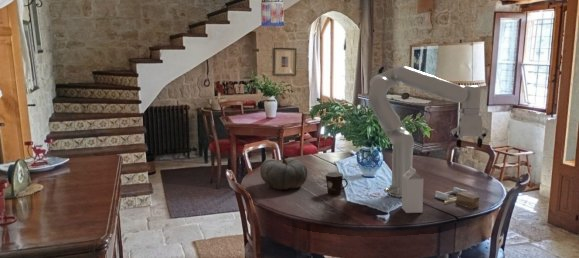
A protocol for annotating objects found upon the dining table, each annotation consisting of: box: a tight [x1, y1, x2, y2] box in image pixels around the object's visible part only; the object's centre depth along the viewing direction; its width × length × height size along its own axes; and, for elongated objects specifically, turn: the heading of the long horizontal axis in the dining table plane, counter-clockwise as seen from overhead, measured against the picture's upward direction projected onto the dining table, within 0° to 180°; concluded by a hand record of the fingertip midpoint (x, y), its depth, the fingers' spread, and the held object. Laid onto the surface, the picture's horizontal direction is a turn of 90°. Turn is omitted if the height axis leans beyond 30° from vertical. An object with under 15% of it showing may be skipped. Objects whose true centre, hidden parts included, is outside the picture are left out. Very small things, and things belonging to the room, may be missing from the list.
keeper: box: [434, 186, 468, 201], centre depth 209 cm, size 13×8×3 cm, turn 118°
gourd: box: [260, 155, 308, 191], centre depth 231 cm, size 25×25×17 cm
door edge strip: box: [443, 199, 456, 205], centre depth 204 cm, size 18×1×1 cm, turn 118°
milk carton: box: [401, 166, 424, 214], centre depth 190 cm, size 7×7×19 cm
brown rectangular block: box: [455, 192, 480, 210], centre depth 197 cm, size 4×9×5 cm, turn 26°
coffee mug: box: [325, 171, 348, 197], centre depth 215 cm, size 12×9×10 cm
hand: (469, 147), depth 209 cm, fingers open, 9 cm apart
